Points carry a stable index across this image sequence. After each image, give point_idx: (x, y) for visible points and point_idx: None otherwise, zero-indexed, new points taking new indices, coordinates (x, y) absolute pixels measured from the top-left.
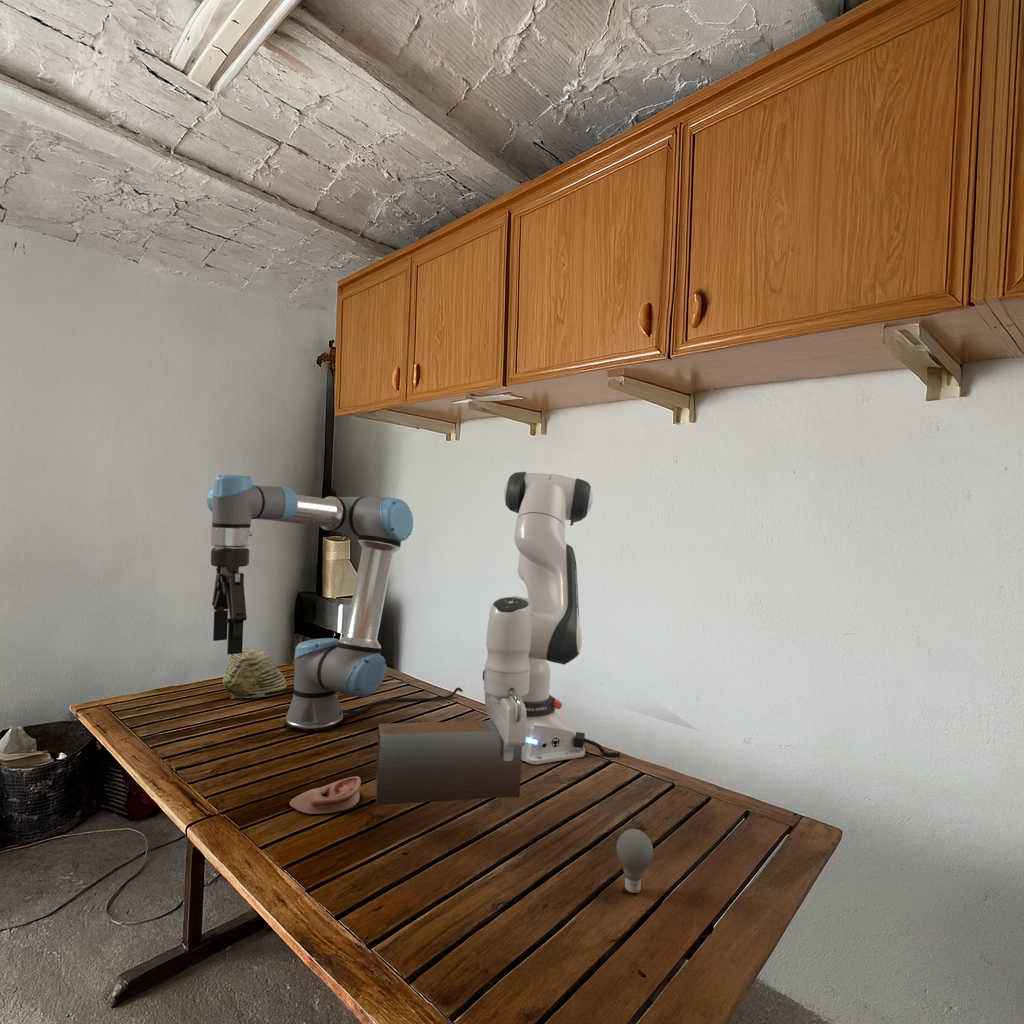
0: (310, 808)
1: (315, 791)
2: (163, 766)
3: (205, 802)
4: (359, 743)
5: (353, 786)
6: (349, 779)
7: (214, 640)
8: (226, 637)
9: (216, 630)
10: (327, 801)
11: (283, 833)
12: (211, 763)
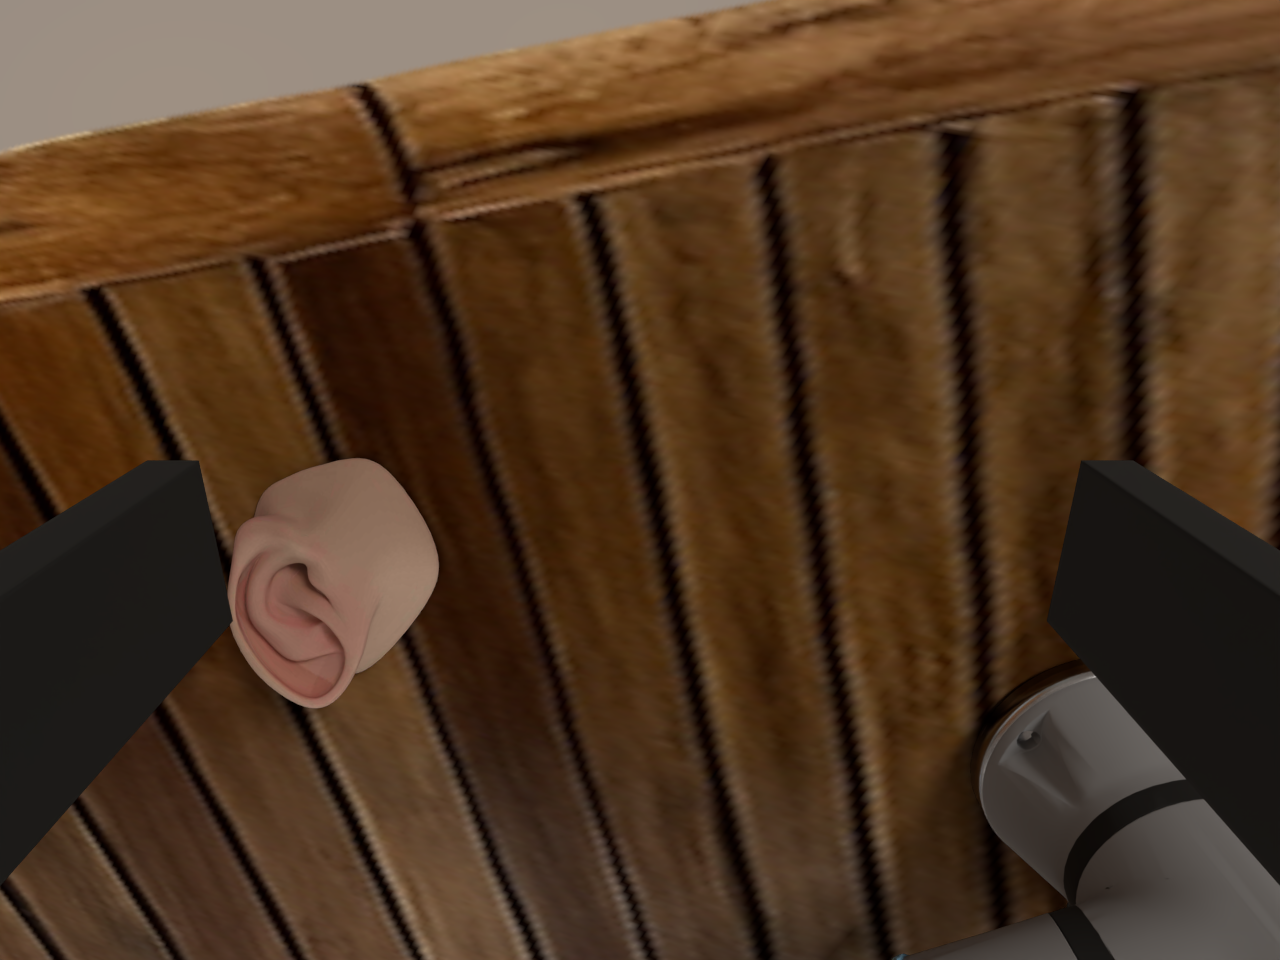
0: (269, 506)
1: (305, 552)
2: (1029, 81)
3: (540, 187)
4: (772, 812)
5: (309, 670)
6: (340, 677)
7: (1085, 471)
8: (1064, 632)
9: (1167, 560)
10: (232, 563)
11: (168, 382)
12: (924, 288)
